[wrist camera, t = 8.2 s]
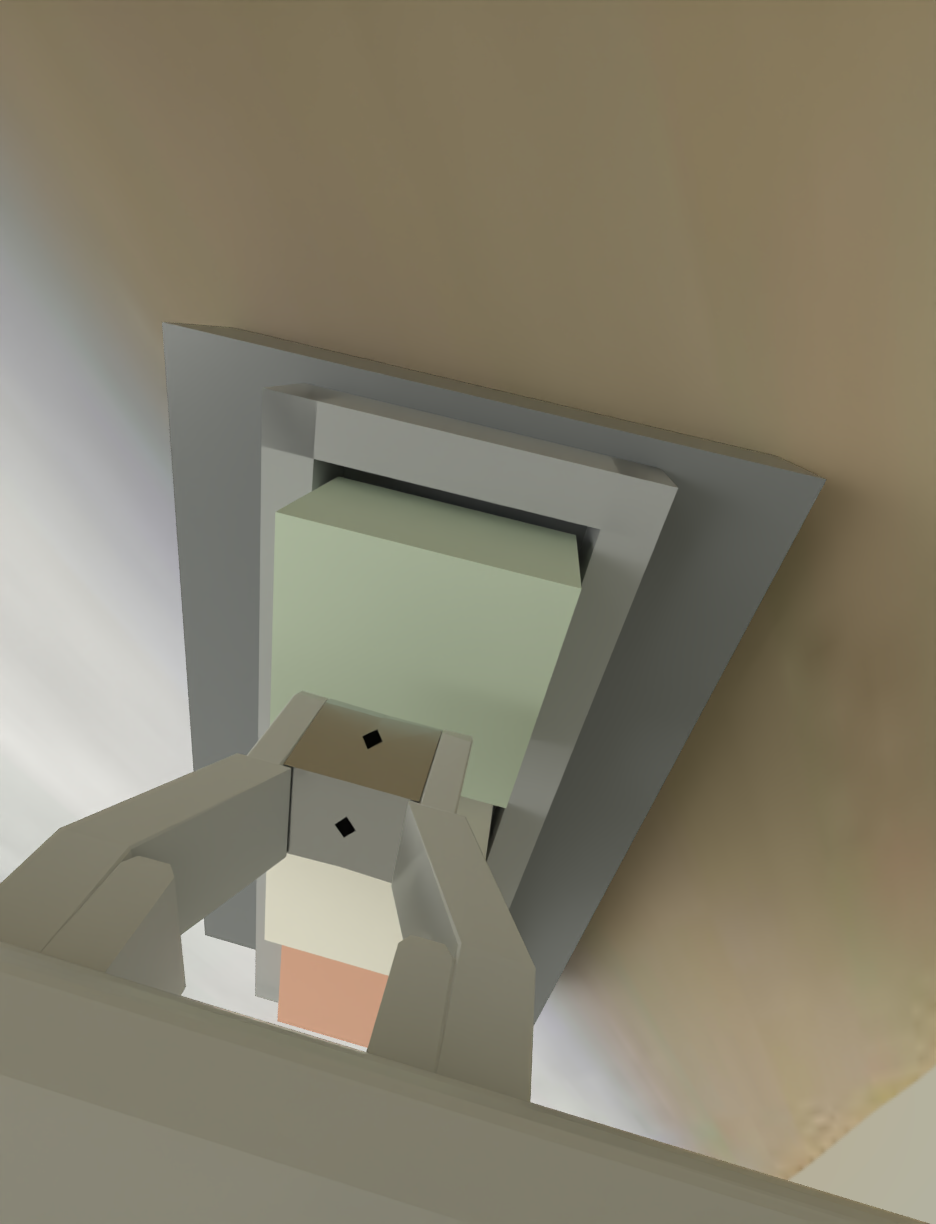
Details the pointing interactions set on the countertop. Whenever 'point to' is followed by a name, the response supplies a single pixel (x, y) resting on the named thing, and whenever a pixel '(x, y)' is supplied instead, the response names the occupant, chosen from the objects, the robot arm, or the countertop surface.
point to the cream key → (344, 905)
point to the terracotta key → (329, 996)
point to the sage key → (422, 616)
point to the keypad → (504, 486)
